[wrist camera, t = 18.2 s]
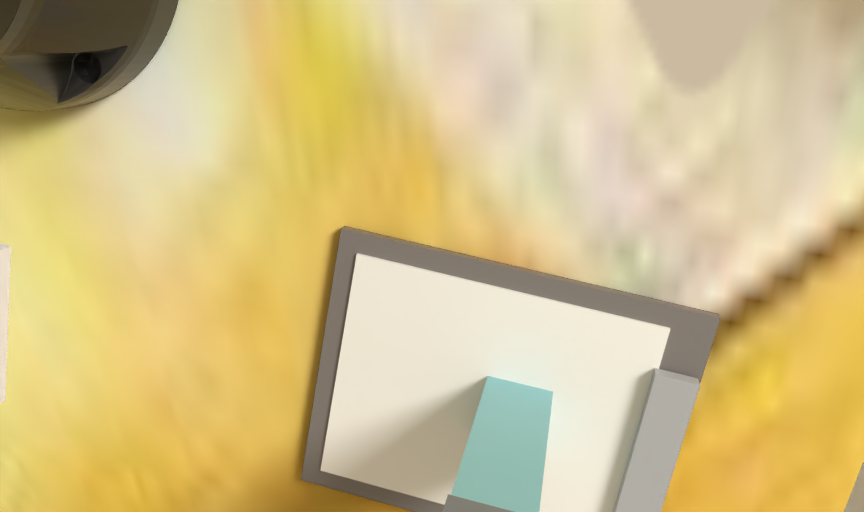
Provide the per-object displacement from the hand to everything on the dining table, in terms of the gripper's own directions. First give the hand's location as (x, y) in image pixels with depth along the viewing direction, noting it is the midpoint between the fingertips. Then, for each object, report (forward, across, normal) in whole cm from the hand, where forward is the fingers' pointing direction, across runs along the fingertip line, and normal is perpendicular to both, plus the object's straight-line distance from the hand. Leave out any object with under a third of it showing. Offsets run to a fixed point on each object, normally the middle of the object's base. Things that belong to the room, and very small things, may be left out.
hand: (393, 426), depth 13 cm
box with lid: (+26, +2, -12) cm, 29 cm away
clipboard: (+27, +1, -12) cm, 29 cm away
